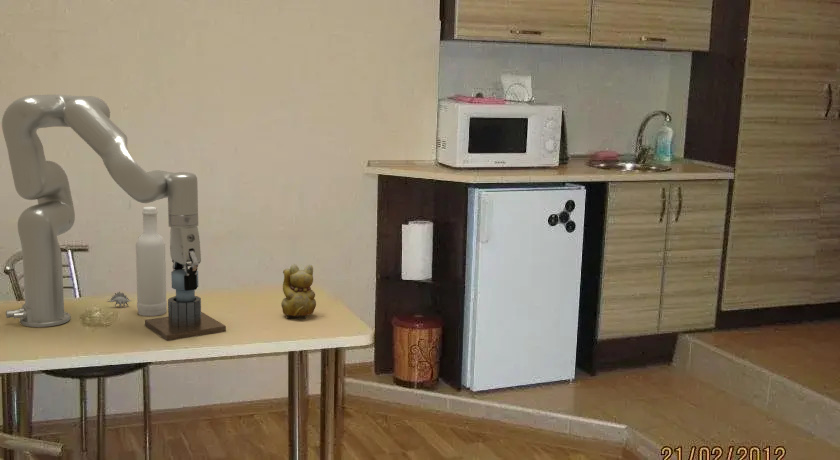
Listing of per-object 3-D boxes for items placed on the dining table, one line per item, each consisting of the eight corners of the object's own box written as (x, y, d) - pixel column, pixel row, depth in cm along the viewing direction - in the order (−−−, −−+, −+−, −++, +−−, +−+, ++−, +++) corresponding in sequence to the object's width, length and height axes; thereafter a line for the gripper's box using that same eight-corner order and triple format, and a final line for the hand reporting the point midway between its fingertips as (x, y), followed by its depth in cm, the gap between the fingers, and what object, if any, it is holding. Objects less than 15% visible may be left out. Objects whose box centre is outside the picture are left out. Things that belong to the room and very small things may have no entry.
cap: (178, 306, 225) (177, 276, 224) (168, 300, 231) (167, 270, 229) (202, 302, 229) (202, 273, 228) (192, 296, 235) (192, 268, 233)
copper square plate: (166, 340, 220) (166, 310, 219) (144, 325, 233) (144, 296, 231) (225, 331, 230) (225, 302, 228) (201, 316, 242) (201, 289, 241)
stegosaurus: (105, 307, 249) (105, 291, 248) (131, 305, 252) (130, 289, 251) (106, 309, 247) (106, 293, 246) (132, 307, 250) (132, 291, 249)
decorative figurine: (314, 312, 250) (314, 261, 247) (317, 320, 242) (318, 268, 240) (280, 314, 248) (280, 262, 245) (283, 322, 240) (283, 269, 237)
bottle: (158, 317, 240) (155, 210, 235) (132, 315, 242) (129, 208, 237) (171, 310, 248) (169, 206, 243) (146, 307, 250) (143, 204, 244)
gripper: (210, 224, 222) (212, 292, 225) (184, 214, 235) (186, 278, 238) (182, 226, 217) (184, 296, 220) (157, 216, 231) (159, 282, 234)
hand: (185, 286), depth 229 cm, fingers closed on cap, 6 cm apart
